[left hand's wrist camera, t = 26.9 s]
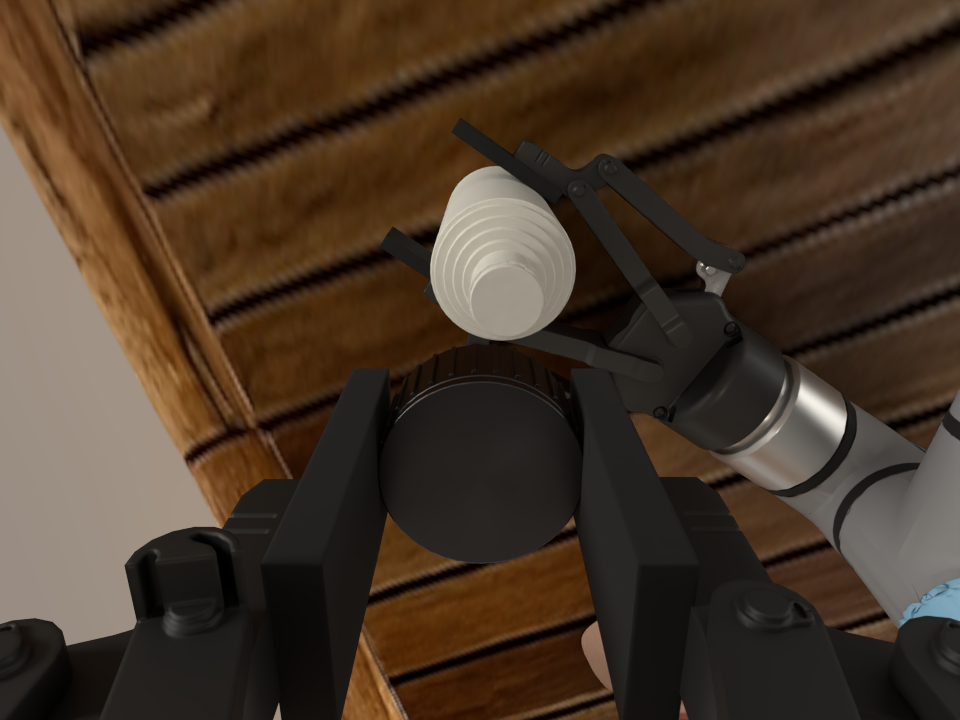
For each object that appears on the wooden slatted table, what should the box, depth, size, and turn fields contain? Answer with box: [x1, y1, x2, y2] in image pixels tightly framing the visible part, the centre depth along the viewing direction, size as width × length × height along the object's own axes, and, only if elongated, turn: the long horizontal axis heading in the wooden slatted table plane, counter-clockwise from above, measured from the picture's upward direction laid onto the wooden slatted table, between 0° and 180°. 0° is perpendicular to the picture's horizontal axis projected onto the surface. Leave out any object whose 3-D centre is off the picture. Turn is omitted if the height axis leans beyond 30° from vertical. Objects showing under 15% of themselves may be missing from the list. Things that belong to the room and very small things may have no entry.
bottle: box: [430, 166, 576, 340], centre depth 34 cm, size 6×6×20 cm
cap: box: [378, 343, 583, 563], centre depth 14 cm, size 4×4×2 cm
